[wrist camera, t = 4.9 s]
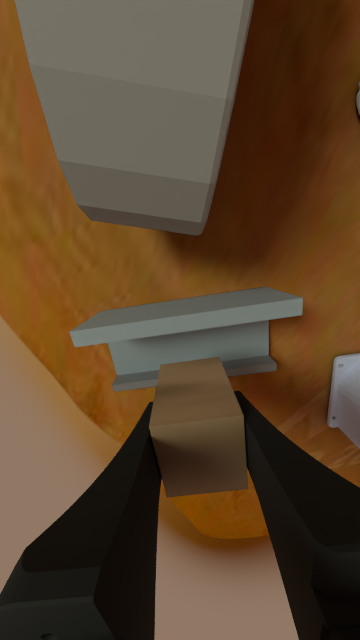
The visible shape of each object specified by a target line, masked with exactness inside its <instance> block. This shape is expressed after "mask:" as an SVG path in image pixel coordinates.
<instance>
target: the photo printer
mask: <svg viewBox="0 0 360 640" xmlns="http://www.w3.org/2000/svg"><path fill="white" fill-rule="evenodd" d="M358 87H359V91H358V93H357V96H356V104H357V110H358V113H359V115H360V82H359V84H358Z"/></svg>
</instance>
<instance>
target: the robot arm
mask: <svg viewBox="0 0 360 640" xmlns="http://www.w3.org/2000/svg"><path fill="white" fill-rule="evenodd" d="M339 364H340V365H339ZM234 394H235V396H236V399H237V401H238V403H239V406H240V408H241V411H242V413H243V415H244V431H245V448H246V464H247V468H248V471H249V473H250V476H251V479H252V481H253V484H254V487H255V490H256V492H257V495H258V499H259V502H260V505H261V508H262V512H263V515H264V518H265V522H266V525H267V528H268V532H269V535H270V539H271V542H272V545H273V549H274V552H275V556H276V559H277V563H278V566H279V569H280V573H281V577H282V580H283V583H284V587H285V591H286V594H287V598H288V602H289V605H290V609H291V612H292V616H293V619H294V623H295V627H296V630H297V634H298V637H299V640H360V488H359V487H358V486H356V485H354V484H353V483H351V482H349V481H348V480H346V479H345V478H343V477H341V476H340V475H338V474H337V473H335V472H334V471H332V470H331V469H329V468H328V467H326V466H325V465H323V464H322V463H320V462H319V461H317V460H316V459H314V458H313V457H312V456H310V455H309V454H308V453H306V452H305V451H304V450H302V449H301V448H300V447H298V446H297V445H296V444H294V443H293V442H292V441H291V440H289V439H288V438H287V437H286V436H285V435H283V434H282V433H281V432H280V431H279V430H278V429H277V428H275V427H274V426H273V425H272V424H271V423H270V422H269V421H268V420H267V419H266V418H265V417H264V416H263V415H262V414H261V413H260V412H259V411H258V410H257V409H256V408H255V407H254V406H253V405H252V404H251V403H250V402H249V401H248V400H247V399H246V397H245V396H244V395H243V394H242V393H241V392H240V391H234ZM152 407H153V402H149V404H148V405H147V407H146V409H145V411H144V413H143V414H142V416H141V418H140V419H139V421H138V423H137V424H136V426H135V428H134V429H133V431H132V432H131V434H130V436H129V437H128V439H127V440H126V441H125V443H124V444H123V446H122V447H121V449H120V450H119V451H118V453H117V454H116V456H115V457H114V458H113V460H112V461H111V462H110V463H109V465H108V466H107V467H106V468H105V470H104V471H103V472H102V473H101V474H100V475H99V477H98V478H97V479H96V480H95V481H94V483H93V484H92V485H91V486H90V487H89V488H88V489H87V490H86V491H85V492H84V493H83V495H81V497H79V498H78V500H77V501H76V502H75V503H74V504H73V505H72V506H71V507H70V508H69V509H68V510H67V511H66V512H65V513H64V514H63V515H62V516H61V517H60V518H58V519H57V520H56V521H55V522H54V523H53V524H52V525H51V526H50V527H49V528H48V529H46V530H45V531H44V532H43V533H42V534H41V535H40V536H39V537H38V538H37V539H35V540H34V541H33V542H32V543H31V544H30V545H29V546H28V547H26V548H25V550H24V552H23V553H22V555H21V557H20V559H19V560H18V562H17V564H16V565H15V567H14V569H13V571H12V573H11V575H10V577H9V579H8V580H7V583H6V585H5V586H4V588H3V590H2V592H1V594H0V640H154V629H155V628H154V627H155V581H156V551H157V527H158V507H159V495H160V487H161V479H162V476H161V472H160V468H159V464H158V461H157V457H156V453H155V449H154V445H153V441H152V437H151V433H150V429H149V423H150V418H151V413H152ZM327 424H328V426H329V427H331V428H334V427H338V428H339V429H340V430H341V431H342V432H343V433H344V434H345V435H346V436H347V437H348V438H349V439H350V440H351V441H352V442H353V443H354V444H355V445H356V446H357V447H358V448H359V450H360V353H357V354H349V355H341V356H337V357H336V358H335V359H334V364H333V373H332V382H331V391H330V400H329V408H328V417H327Z"/></svg>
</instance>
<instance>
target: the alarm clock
mask: <svg viewBox="0 0 360 640" xmlns="http://www.w3.org/2000/svg"><path fill="white" fill-rule="evenodd" d="M15 4H16V8H17V13H18V17H19V21H20V26H21V30H22V35H23V39H24V43H25V48H26V52H27V56H28V61H29V65H30V68H31V72H32V75H33V78H34V82H35V85H36V89H37V92H38V95H39V99H40V102H41V105H42V109H43V112H44V115H45V119H46V122H47V126H48V129H49V132H50V136H51V139H52V142H53V146H54V149H55V152H56V156H57V159H58V162H59V164H60V166H61V169H62V171H63V173H64V176H65V178H66V180H67V182H68V185H69V187H70V189H71V192H72V194H73V196H74V198H75V201H76V203H77V205H78V206H79V207H80V208H81V209H82V211H83V212H84V213H85V214H86V215H87V216H88V217H89V219H90V220H93V221H99V222H106V223H113V224H120V225H127V226H134V227H141V228H148V229H155V230H162V231H169V232H176V233H182V234H189V235H196V236H197V235H201V234H202V232H203V230H204V227H205V224H206V221H207V219H208V215H209V211H210V207H211V203H212V199H213V195H214V191H215V187H216V183H217V179H218V174H219V169H220V165H221V160H222V156H223V151H224V146H225V142H226V137H227V133H228V128H229V123H230V119H231V114H232V109H233V105H234V100H235V95H236V90H237V85H238V80H239V75H240V70H241V65H242V60H243V55H244V50H245V45H246V40H247V35H248V30H249V25H250V20H251V15H252V10H253V5H254V0H15Z"/></svg>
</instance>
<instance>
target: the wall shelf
mask: <svg viewBox="0 0 360 640" xmlns="http://www.w3.org/2000/svg"><path fill="white" fill-rule="evenodd" d="M302 309H303V298H302V297H299V296H295V295H292V294H288V293H285V292H282V291H278V290H275V289H272V288H268V287H260V288H253V289H247V290H240V291H233V292H226V293H220V294H213V295H206V296H199V297H193V298H186V299H179V300H173V301H166V302H159V303H152V304H146V305H139V306H132V307H126V308H119V309H112V310H105V311H101V312H99V313H98V314H96V315H95V316H93V317H92V318H90V319H88V320H87V321H85V322H84V323H82V324H81V325H79V326H78V327H76V328H74V329H73V330H71V331H70V335H71V338H72V341H73V343H74V346H75V347H80V346H87V345H94V344H101V343H108V345H109V349H110V352H111V356H112V359H113V362H114V366H115V369H116V373H117V377H116V379H115V381H114V382H113V384H112V386H113V389H114V392H116V391H123V390H131V389H139V388H146V387H154V386H157V380H158V375H159V370H160V365H162V364H169V363H177V362H184V361H192V360H199V359H206V358H214V357H219V358H220V360H221V363H222V365H223V367H224V370H225V372H226V375H227V377H231V376H239V375H247V374H254V373H262V372H270V371H277V363H276V362H275V361H274V360H273V359H272V358H271V357H270V356H269V320H271V319H278V318H285V317H292V316H300V315H302Z"/></svg>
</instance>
